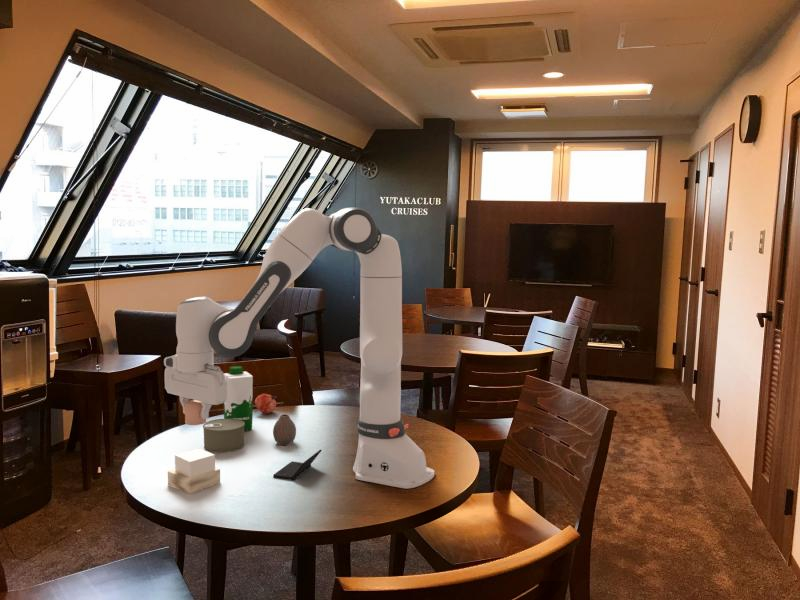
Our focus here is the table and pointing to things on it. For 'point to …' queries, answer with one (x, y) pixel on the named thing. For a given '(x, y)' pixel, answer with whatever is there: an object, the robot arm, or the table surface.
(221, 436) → the can
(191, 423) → the peach rounded dome
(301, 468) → the handheld gaming console
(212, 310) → the robot arm
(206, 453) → the tower middle
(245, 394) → the milk carton
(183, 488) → the tower base
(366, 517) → the table surface
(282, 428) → the vase
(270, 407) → the pomegranate
